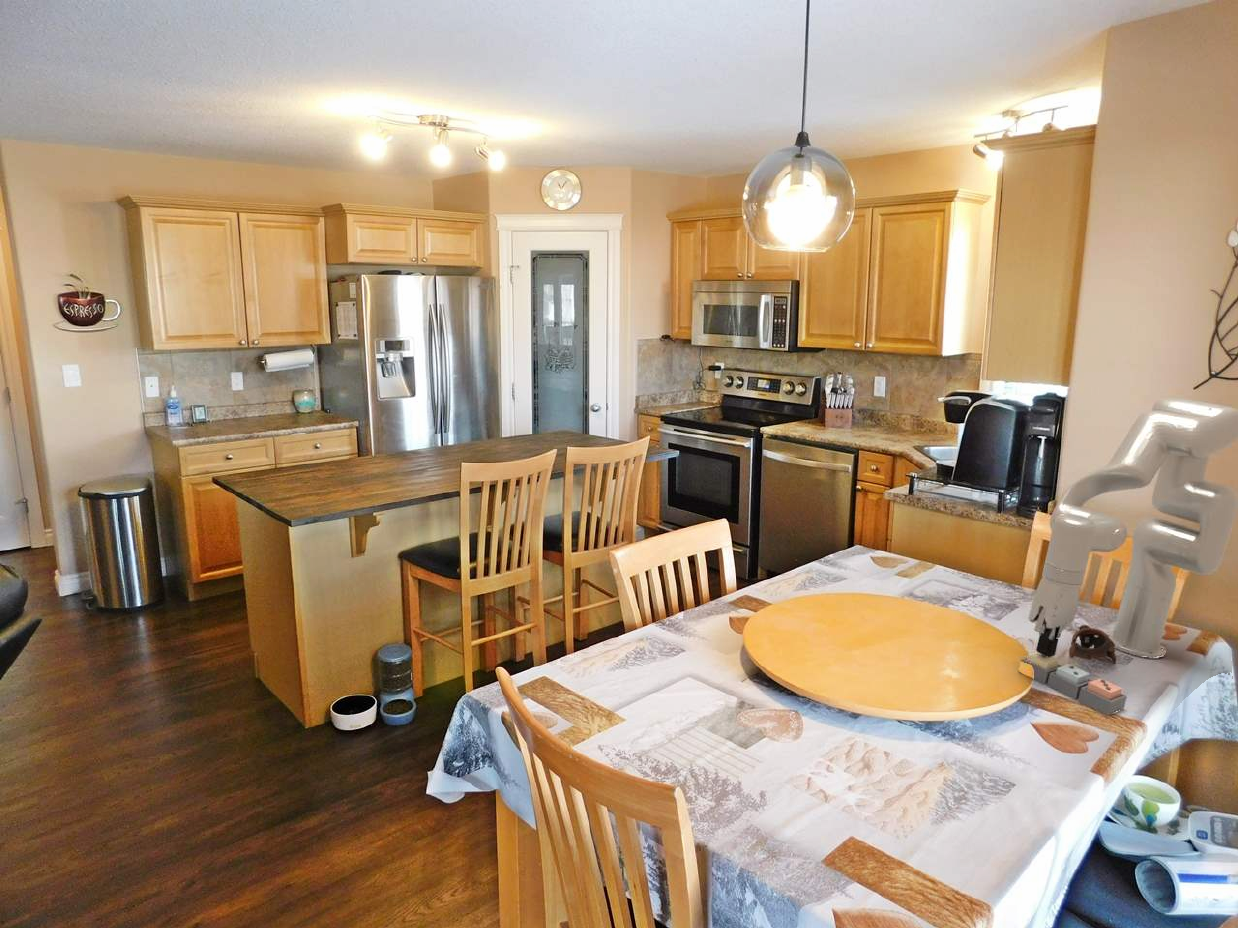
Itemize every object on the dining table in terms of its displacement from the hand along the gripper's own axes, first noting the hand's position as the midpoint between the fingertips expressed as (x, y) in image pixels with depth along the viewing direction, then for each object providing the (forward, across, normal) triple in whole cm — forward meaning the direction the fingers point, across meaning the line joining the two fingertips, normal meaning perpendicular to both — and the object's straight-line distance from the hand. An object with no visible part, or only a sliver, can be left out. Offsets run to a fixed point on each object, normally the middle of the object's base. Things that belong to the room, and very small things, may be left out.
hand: (1045, 653), depth 172 cm
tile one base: (+5, 0, 0) cm, 5 cm away
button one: (+5, 0, 0) cm, 5 cm away
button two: (+5, 0, +7) cm, 8 cm away
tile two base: (+5, 0, +6) cm, 8 cm away
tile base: (+5, 0, +13) cm, 14 cm away
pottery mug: (+6, -20, 0) cm, 21 cm away
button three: (+5, 0, +13) cm, 14 cm away
